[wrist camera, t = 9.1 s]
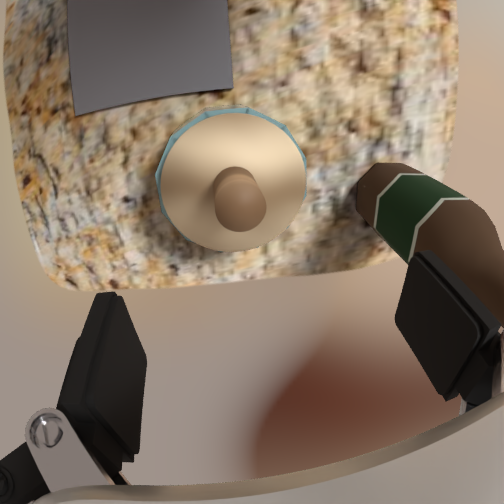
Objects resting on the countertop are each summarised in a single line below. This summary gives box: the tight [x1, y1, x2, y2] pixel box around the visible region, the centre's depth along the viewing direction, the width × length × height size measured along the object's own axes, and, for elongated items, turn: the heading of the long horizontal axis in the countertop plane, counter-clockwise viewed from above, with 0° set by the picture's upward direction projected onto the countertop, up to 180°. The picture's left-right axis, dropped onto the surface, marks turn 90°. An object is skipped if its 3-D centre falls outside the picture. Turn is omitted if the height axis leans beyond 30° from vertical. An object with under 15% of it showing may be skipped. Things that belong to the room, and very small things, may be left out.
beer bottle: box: [356, 163, 504, 328], centre depth 20 cm, size 8×8×24 cm
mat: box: [67, 0, 233, 116], centre depth 20 cm, size 14×14×1 cm
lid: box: [161, 113, 306, 252], centre depth 20 cm, size 10×10×5 cm
